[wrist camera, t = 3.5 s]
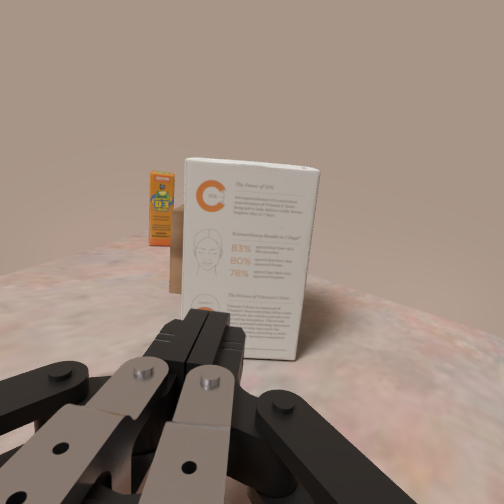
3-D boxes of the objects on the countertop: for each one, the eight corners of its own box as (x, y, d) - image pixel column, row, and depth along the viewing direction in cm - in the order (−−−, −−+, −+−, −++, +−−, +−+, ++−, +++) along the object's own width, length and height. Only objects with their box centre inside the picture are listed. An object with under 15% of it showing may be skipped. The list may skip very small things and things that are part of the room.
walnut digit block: (228, 279, 38) (234, 207, 36) (220, 298, 33) (226, 216, 31) (184, 274, 39) (186, 202, 36) (169, 292, 34) (171, 210, 31)
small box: (284, 320, 30) (303, 165, 26) (296, 363, 24) (323, 169, 20) (189, 314, 29) (196, 155, 26) (177, 357, 23) (183, 156, 20)
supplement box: (147, 246, 48) (148, 172, 45) (149, 240, 51) (149, 170, 48) (172, 247, 49) (174, 173, 46) (172, 240, 52) (174, 172, 49)
